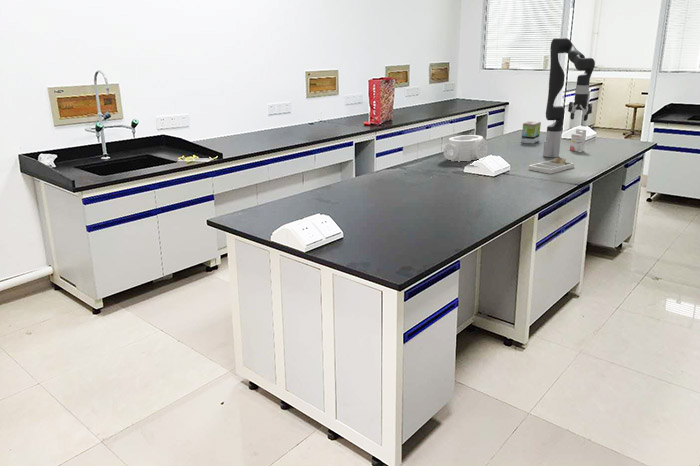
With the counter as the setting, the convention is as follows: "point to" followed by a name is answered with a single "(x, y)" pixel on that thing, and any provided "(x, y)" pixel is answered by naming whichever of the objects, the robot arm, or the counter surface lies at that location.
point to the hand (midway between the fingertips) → (578, 120)
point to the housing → (466, 148)
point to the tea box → (530, 132)
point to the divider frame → (550, 167)
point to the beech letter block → (559, 161)
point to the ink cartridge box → (578, 140)
